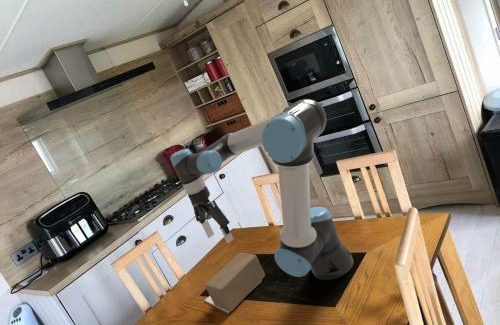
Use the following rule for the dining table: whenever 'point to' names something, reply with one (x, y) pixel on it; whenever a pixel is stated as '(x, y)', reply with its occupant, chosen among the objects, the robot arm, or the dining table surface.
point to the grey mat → (219, 307)
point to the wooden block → (235, 281)
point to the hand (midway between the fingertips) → (220, 238)
